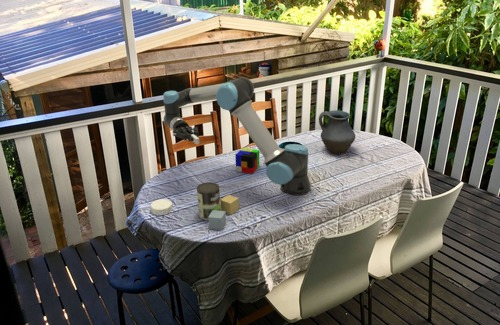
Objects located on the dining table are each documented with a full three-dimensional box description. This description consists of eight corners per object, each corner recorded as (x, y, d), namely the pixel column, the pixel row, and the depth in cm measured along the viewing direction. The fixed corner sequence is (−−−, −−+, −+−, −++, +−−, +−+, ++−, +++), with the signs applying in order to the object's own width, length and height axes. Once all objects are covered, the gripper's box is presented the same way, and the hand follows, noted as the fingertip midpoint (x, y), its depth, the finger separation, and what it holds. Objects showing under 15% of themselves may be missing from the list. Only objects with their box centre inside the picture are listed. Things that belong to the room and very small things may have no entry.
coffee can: (225, 212, 208) (224, 185, 203) (212, 222, 201) (210, 194, 195) (207, 206, 214) (205, 180, 208) (194, 216, 206) (191, 189, 200)
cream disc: (176, 211, 210) (175, 205, 209) (155, 218, 206) (154, 211, 204) (168, 202, 218) (167, 196, 217) (148, 208, 214) (147, 202, 212)
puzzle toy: (236, 171, 248) (235, 154, 244) (243, 164, 256) (242, 148, 252) (252, 174, 245) (252, 157, 240) (259, 166, 253) (259, 150, 249)
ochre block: (239, 209, 211) (238, 198, 208) (230, 214, 206) (230, 203, 204) (229, 205, 214) (228, 194, 212) (221, 210, 210) (220, 199, 207)
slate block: (226, 223, 200) (225, 211, 198) (222, 230, 195) (221, 218, 192) (213, 221, 201) (212, 210, 199) (209, 228, 196) (208, 217, 194)
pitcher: (357, 158, 260) (360, 117, 250) (319, 158, 260) (321, 117, 250) (350, 144, 279) (353, 105, 268) (315, 145, 279) (316, 106, 269)
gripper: (192, 131, 232) (211, 146, 213) (168, 136, 227) (185, 151, 208) (191, 117, 229) (210, 131, 210) (166, 122, 224) (183, 136, 205)
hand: (197, 141), depth 209 cm, fingers closed
